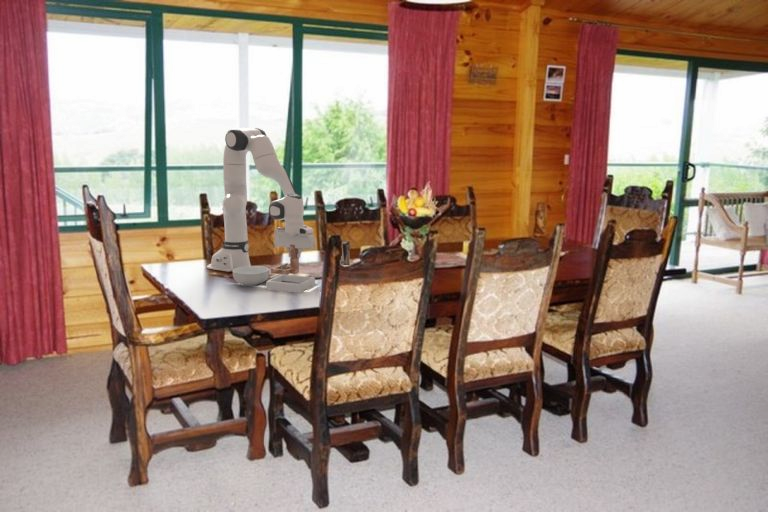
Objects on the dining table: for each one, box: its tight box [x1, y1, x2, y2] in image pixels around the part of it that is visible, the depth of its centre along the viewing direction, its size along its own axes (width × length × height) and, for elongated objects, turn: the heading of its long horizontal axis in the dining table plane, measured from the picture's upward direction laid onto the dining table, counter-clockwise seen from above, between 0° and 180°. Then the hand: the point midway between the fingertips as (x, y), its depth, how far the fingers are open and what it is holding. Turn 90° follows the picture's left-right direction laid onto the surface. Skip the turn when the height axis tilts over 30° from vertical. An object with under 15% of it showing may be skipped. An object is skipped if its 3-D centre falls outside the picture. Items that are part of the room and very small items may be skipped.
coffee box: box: [341, 240, 351, 265], centre depth 344 cm, size 9×6×16 cm
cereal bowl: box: [232, 265, 270, 287], centre depth 323 cm, size 17×17×7 cm
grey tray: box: [265, 274, 316, 294], centre depth 318 cm, size 17×15×4 cm
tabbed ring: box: [270, 245, 300, 275], centre depth 334 cm, size 12×9×14 cm
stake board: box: [268, 262, 311, 279], centre depth 336 cm, size 16×13×7 cm
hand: (294, 257), depth 333 cm, fingers closed on tabbed ring, 2 cm apart
